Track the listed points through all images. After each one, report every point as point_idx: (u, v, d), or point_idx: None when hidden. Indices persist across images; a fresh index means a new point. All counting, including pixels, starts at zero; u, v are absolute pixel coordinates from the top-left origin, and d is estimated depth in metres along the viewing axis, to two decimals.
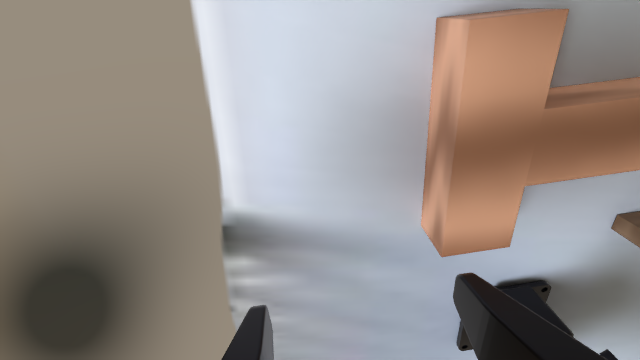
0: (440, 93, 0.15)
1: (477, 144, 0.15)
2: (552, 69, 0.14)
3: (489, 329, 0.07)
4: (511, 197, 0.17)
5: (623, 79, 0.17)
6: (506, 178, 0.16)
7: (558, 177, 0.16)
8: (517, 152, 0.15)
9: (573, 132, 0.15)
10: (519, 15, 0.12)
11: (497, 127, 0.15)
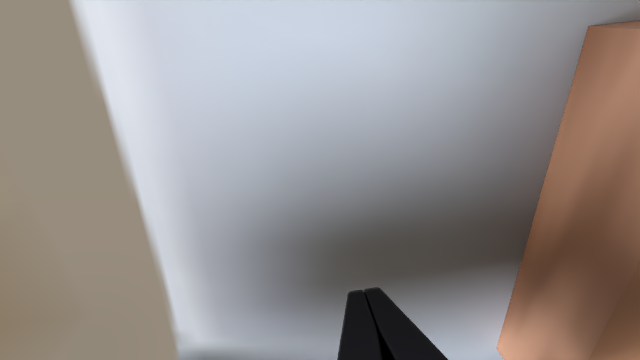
0: (583, 171, 0.08)
1: None
2: None
3: None
4: None
5: None
6: None
7: None
8: None
9: None
10: None
11: None
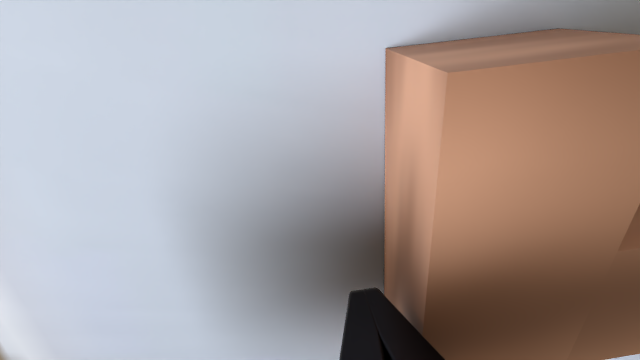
0: (397, 198, 0.08)
1: (470, 315, 0.07)
2: None
3: None
4: None
5: None
6: (530, 359, 0.08)
7: (628, 350, 0.08)
8: (553, 321, 0.07)
9: None
10: (582, 59, 0.05)
11: (514, 287, 0.07)
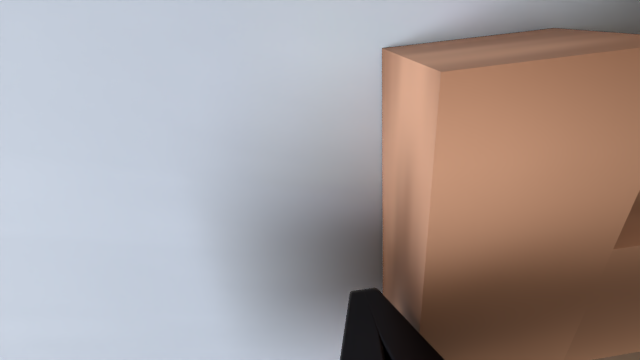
0: (394, 197, 0.08)
1: (467, 314, 0.07)
2: None
3: None
4: None
5: None
6: (527, 358, 0.08)
7: (626, 348, 0.08)
8: (550, 319, 0.08)
9: None
10: (574, 57, 0.05)
11: (509, 285, 0.07)
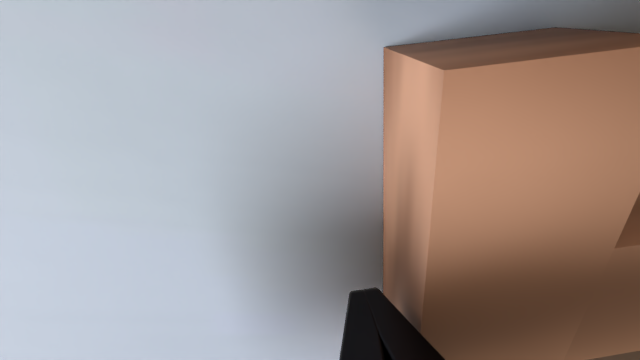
0: (396, 196, 0.08)
1: (468, 313, 0.07)
2: None
3: None
4: None
5: None
6: (528, 356, 0.08)
7: (626, 347, 0.09)
8: (551, 318, 0.08)
9: None
10: (577, 56, 0.05)
11: (511, 284, 0.07)
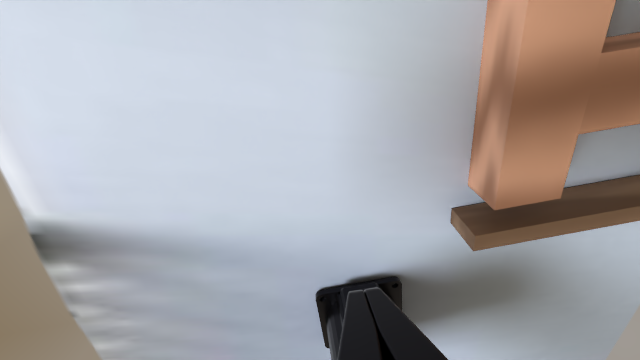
0: (495, 45, 0.16)
1: (534, 91, 0.15)
2: (611, 11, 0.14)
3: None
4: (565, 146, 0.17)
5: None
6: (561, 127, 0.16)
7: (611, 124, 0.17)
8: (572, 99, 0.16)
9: (628, 76, 0.15)
10: None
11: (554, 74, 0.15)
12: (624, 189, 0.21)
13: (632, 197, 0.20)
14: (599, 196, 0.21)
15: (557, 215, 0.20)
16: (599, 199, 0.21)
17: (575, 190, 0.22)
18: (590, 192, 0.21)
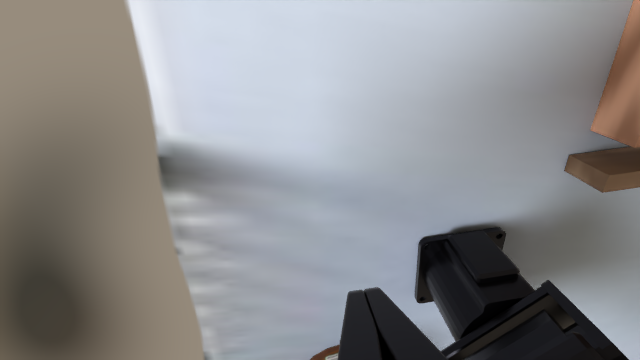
0: None
1: None
2: None
3: None
4: None
5: None
6: None
7: None
8: None
9: None
10: None
11: None
12: None
13: None
14: None
15: None
16: None
17: None
18: None
